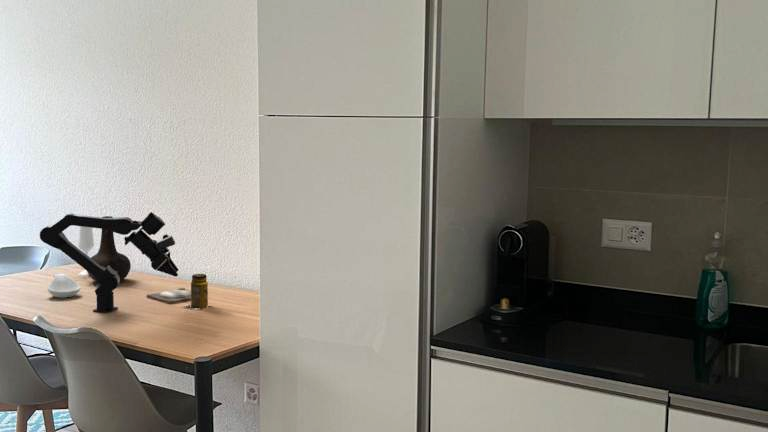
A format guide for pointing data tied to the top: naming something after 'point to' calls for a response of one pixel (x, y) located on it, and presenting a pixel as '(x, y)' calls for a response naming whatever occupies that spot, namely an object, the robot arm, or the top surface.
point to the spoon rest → (63, 286)
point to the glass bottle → (111, 255)
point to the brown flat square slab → (172, 296)
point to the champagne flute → (85, 242)
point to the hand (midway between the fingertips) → (177, 273)
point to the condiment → (198, 292)
